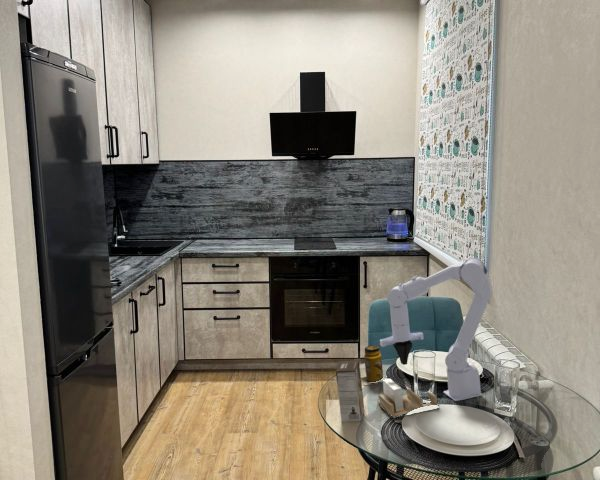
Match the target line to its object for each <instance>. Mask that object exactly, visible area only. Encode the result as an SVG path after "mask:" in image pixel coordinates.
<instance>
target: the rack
mask: <svg viewBox="0 0 600 480" xmlns="http://www.w3.org/2000/svg"><path fill="white" fill-rule="evenodd" d="M405 391H406V394H404V395H402V398H403V408H404V410H403V411H398V412H396V411H394V405H393V404H392V403H391V402H390V401H388V400H387V399H386V398H385V397H384V394H382V393H380V394H378V399H379V400H377V404H378V403H379V404H380V405H381V406H382V407H383V408H384V409H385V410H386V411H387V412H388V413H389V414H390V415H392V416H397V415H402V414H406V413H408V412H410V411H412V410H414V409H417V408H420V407H424V406H428V405H437V404H438V398H437V395H436V394H435V393H433V392H432V393H428V394H429V399H430V401H431V402H430V403H426V404H423V400H422V398H420V397H419V396H418V395H417V394H415V393H416V392H414V391H413V390H412V389H410V388H406V390H405ZM379 404H378V405H379ZM380 405H379V406H380ZM381 406H380V407H381ZM382 407H381V408H382ZM383 408H382V409H383ZM384 409H383V410H384ZM385 410H384V411H385ZM386 411H385V412H386ZM387 412H386V413H387ZM388 413H387V414H388ZM389 414H388V415H389ZM390 415H389V416H390Z"/></svg>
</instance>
